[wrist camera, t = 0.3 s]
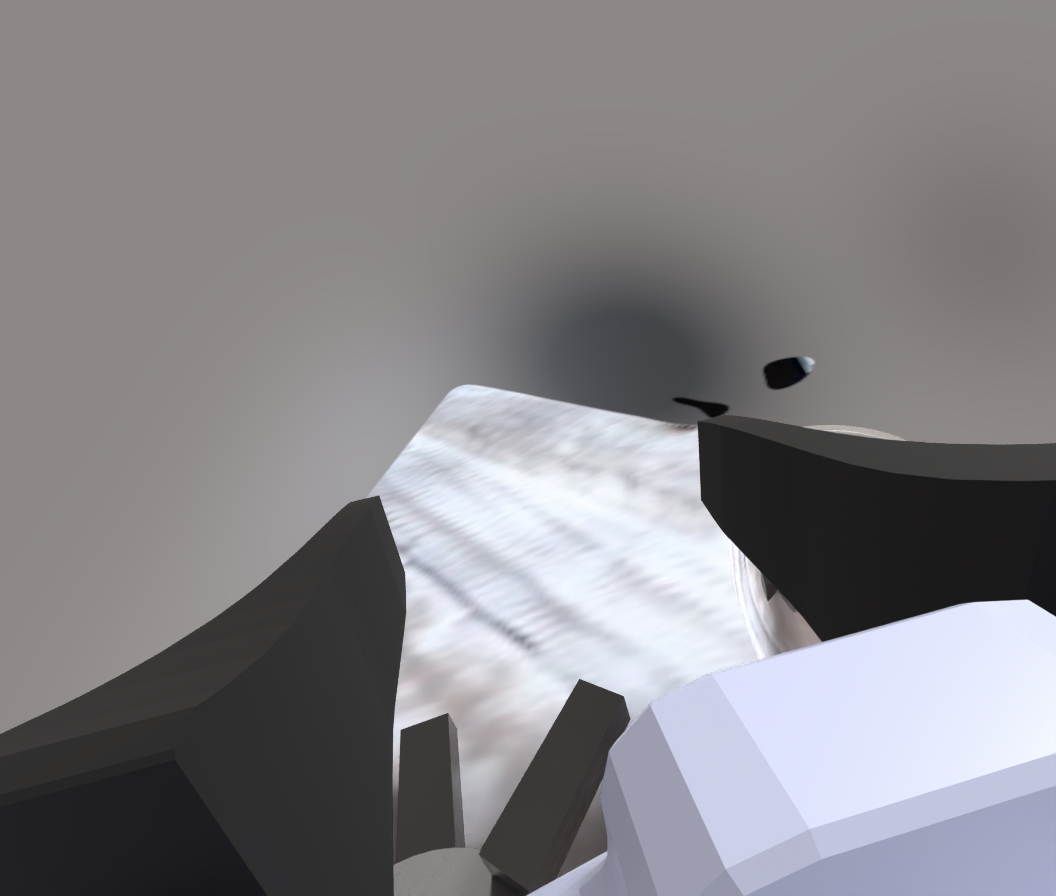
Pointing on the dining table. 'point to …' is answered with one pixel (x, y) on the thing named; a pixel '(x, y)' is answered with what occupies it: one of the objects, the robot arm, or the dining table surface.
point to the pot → (429, 789)
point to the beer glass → (762, 602)
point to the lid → (531, 810)
